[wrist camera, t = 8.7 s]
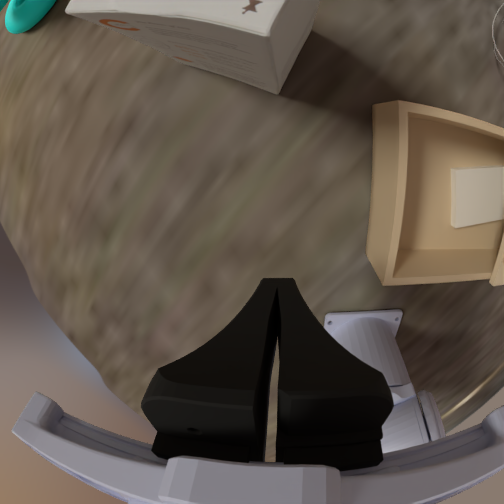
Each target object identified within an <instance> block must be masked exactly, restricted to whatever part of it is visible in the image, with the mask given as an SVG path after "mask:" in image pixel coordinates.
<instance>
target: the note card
mask: <svg viewBox="0 0 504 504" xmlns="http://www.w3.org/2000/svg"><path fill="white" fill-rule="evenodd" d="M501 219H504V166H503V165H493V166H473V167H458V168H451V226H453V227H454V228H460V227H465V226H470V225H476V224H481V223H486V222H491V221H496V220H501Z"/></svg>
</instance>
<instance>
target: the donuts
mask: <svg viewBox="0 0 504 504" xmlns="http://www.w3.org/2000/svg"><path fill="white" fill-rule="evenodd" d="M8 1H9V0H0V11H1V10H2V9H3V7H4V6H5V5H6V3H7V2H8ZM55 2H56V0H11V1H10V3H9V6H8V9H7V12H6V17H5V24H6V28H7V30H8V31H9V32H11V33H13V34H19V33H23V32H25V31H27V30H29V29H30V28H32V27H33V26H34V25H36V24H37V23H38V22H39V21H40V20H41V19H42V18H43V17H44V16H45V15H46V14H47V12H48V11H49V10H50V9H51V7H52V6H53V5H54V3H55Z"/></svg>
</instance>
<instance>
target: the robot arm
mask: <svg viewBox="0 0 504 504" xmlns="http://www.w3.org/2000/svg"><path fill="white" fill-rule="evenodd" d="M402 315H403V313H402V310H400V309H394V310H379V311H362V312H338V313H328V314H327V315H326V316H325V322H324V327H323V326H322V325H321V324H320V322H319V321H318V320H317V319H316V317H315V316H314V315H313V313H312V312H311V310H310V309H309V307H308V306H307V304H306V302H305V301H304V299H303V297H302V296H301V294H300V292H299V290H298V288H297V285H296V282H295V280H294V279H293V278H263V279H262V280H261V282H260V284H259V285H258V287H257V289H256V291H255V292H254V294H253V295H252V297H251V298H250V299H249V301H248V302H247V303H246V305H245V306H244V307H243V308H242V310H241V311H240V312H239V313H238V314H237V315H236V317H235V318H234V319H233V320H232V321H231V322H230V323H229V324H228V325H227V326H226V327H225V328H224V329H223V330H222V331H220V332H219V333H218V334H217V335H216V336H214V337H213V338H212V339H211V340H209V341H208V342H207V343H205V344H204V345H203V346H201V347H199V348H198V349H196V350H195V351H193V352H191V353H190V354H188V355H186V356H184V357H182V358H180V359H178V360H176V361H174V362H172V363H170V364H168V365H165V366H163V367H161V368H158V370H157V372H156V374H155V375H154V377H153V378H152V380H151V382H150V384H149V386H148V388H147V391H146V393H145V395H144V397H143V400H142V402H141V408H142V410H143V412H144V414H145V416H146V417H147V418H148V420H149V421H150V422H151V424H152V425H153V426H154V428H155V429H156V430H157V435H156V437H155V440H154V443H153V445H151V444H148V443H144V442H141V441H137V440H134V439H130V438H128V437H124V436H122V435H118V434H116V433H113V432H110V431H107V430H105V429H102V428H99V427H97V426H94V425H92V424H89V423H87V422H85V421H82V420H80V419H78V418H75V417H73V416H71V415H69V414H67V413H65V412H64V411H63V410H62V408H61V407H60V406H59V405H58V404H57V403H56V402H55V401H53V400H52V399H50V398H48V397H46V396H44V395H43V394H41V393H39V392H35V393H34V394H33V396H32V397H31V399H30V401H29V402H28V404H27V405H26V407H25V408H24V410H23V412H22V413H21V415H20V417H19V418H18V420H17V422H16V423H15V425H14V427H13V428H12V432H13V433H14V434H15V435H16V436H17V437H18V438H20V439H21V440H22V441H23V442H24V443H25V444H27V445H28V446H29V447H30V448H32V449H33V450H34V451H35V452H37V453H38V454H39V455H41V456H42V457H43V458H45V459H46V460H48V461H49V462H51V463H52V464H54V465H56V466H57V467H58V468H60V469H62V470H63V471H65V472H67V473H69V474H70V475H72V476H74V477H75V478H77V479H79V480H81V481H83V482H84V483H86V484H88V485H90V486H92V487H94V488H96V489H98V490H100V491H102V492H104V493H107V494H109V495H111V496H113V497H115V498H118V499H120V500H123V501H125V502H127V503H128V504H436V503H438V502H441V501H443V500H446V499H448V498H450V497H452V496H455V495H457V494H459V493H461V492H463V491H465V490H467V489H469V488H471V487H473V486H475V485H477V484H478V483H480V482H482V481H484V480H486V479H488V478H489V477H491V476H493V475H494V474H496V473H497V472H499V471H500V470H502V469H503V468H504V405H503V406H501V407H499V408H497V409H495V410H494V411H492V412H491V413H490V414H489V415H488V416H486V418H485V419H484V420H483V421H482V423H480V424H478V425H475V426H473V427H471V428H468V429H466V430H463V431H460V432H458V433H455V434H453V435H450V436H447V437H446V435H445V431H444V427H443V423H442V420H441V417H440V413H439V410H438V407H437V404H436V402H435V399H434V397H433V395H432V393H431V392H428V391H427V392H426V391H425V390H424V389H423V390H421V391H419V392H418V395H419V398H420V401H421V403H420V404H421V407H420V404H419V401H418V398H417V395H416V392H415V390H414V387H413V384H412V383H411V380H410V377H409V375H408V372H407V369H406V366H405V363H404V361H403V358H402V355H401V353H400V350H399V347H398V345H397V342H396V340H395V336H396V333H397V330H398V328H399V325H400V321H401V318H402ZM397 317H398V318H397ZM395 318H397V319H395ZM329 321H332V322H330V323H329ZM277 337H278V346H279V360H280V364H279V379H278V406H277V436H276V462H265V450H266V436H267V422H268V407H269V393H270V381H271V374H272V368H273V362H274V356H275V350H276V344H277ZM421 408H422V411H423V414H424V416H423V414H422V411H421ZM430 440H431V442H430Z"/></svg>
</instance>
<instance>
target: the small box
mask: <svg viewBox="0 0 504 504" xmlns="http://www.w3.org/2000/svg"><path fill="white" fill-rule="evenodd" d="M319 2H320V0H70V2H69V4H68V6H67V8H66V10H65V12H66V13H67V14H69V15H72V16H75V17H78V18H81V19H84V20H87V21H90V22H92V23H95V24H98V25H100V26H103V27H106V28H108V29H111V30H113V31H116V32H118V33H120V34H123V35H125V36H127V37H130V38H132V39H134V40H136V41H138V42H140V43H142V44H145V45H147V46H149V47H151V48H153V49H155V50H157V51H159V52H161V53H163V54H165V55H167V56H169V57H171V58H172V59H174V60H176V61H178V62H180V63H182V64H185V65H189V66H192V67H196V68H199V69H203V70H206V71H210V72H213V73H216V74H219V75H223V76H226V77H229V78H232V79H235V80H238V81H241V82H244V83H246V84H249V85H252V86H255V87H257V88H260V89H263V90H265V91H268V92H271V93H273V94H276V95H278V94H279V92H280V90H281V88H282V86H283V84H284V82H285V80H286V78H287V76H288V74H289V72H290V70H291V68H292V66H293V64H294V62H295V60H296V58H297V56H298V54H299V52H300V51H301V49H302V47H303V45H304V43H305V41H306V39H307V38H308V36H309V34H310V32H311V30H312V27H313V23H314V19H315V16H316V13H317V10H318V6H319Z"/></svg>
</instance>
